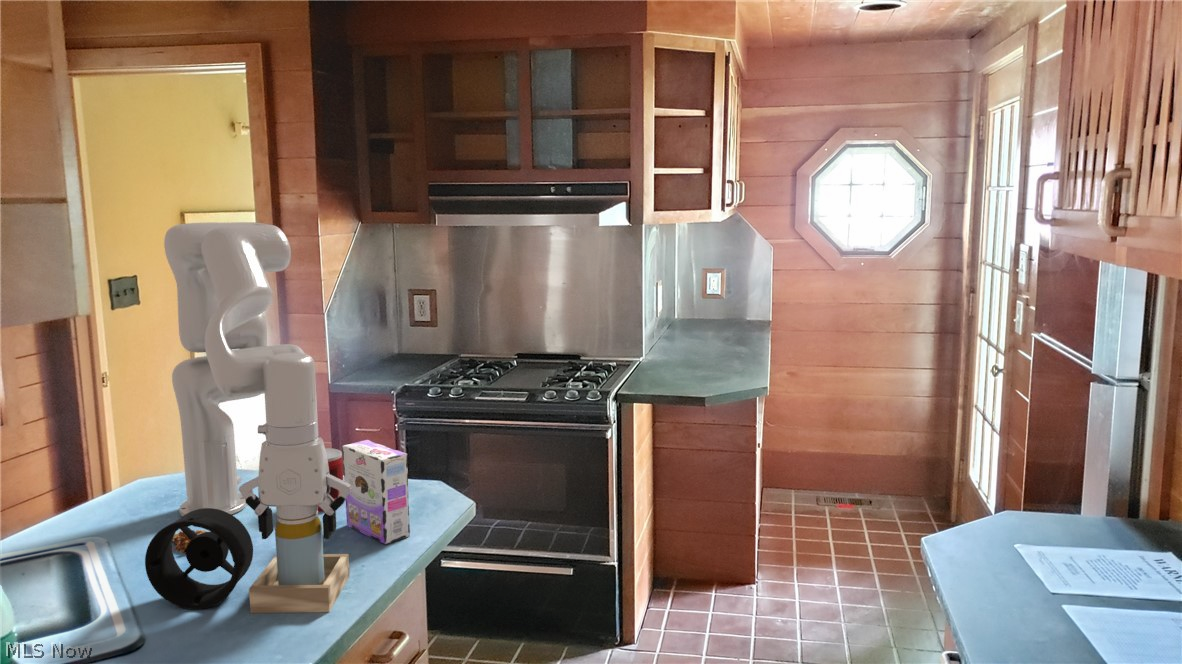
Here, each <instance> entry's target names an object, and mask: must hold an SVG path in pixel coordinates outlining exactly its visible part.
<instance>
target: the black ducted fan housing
mask: <svg viewBox="0 0 1182 664" xmlns="http://www.w3.org/2000/svg"><path fill="white" fill-rule="evenodd" d="M191 526H192V527H195V528H196V527H197V528H201V529H203V530H205V531H206V530H207V532H204V533H201V534H199V535H197V534H196V533H195V532H196V531H195V530H194V531H195V532H194V531H192V528H190V527H191ZM178 531H182V532H183V533H184V534H185V535H186V536H187V537H188V538H189V539H190V540H191V541H190V542H189V544H188V545H187V548H186V549H185V558H186V560H187V562H188V564H189V566H188V567H187V568H186V570H185V571H183V570H182V569H181V567H180V566H179V564H178V562H177V561H176V559H175V556H174V553H173V551H174V550H173V542H174V541H173V537H174V534H175V533H176V532H178ZM229 553H230V555H231V559H232V562H233V565H232V564H231V563H230V562H229V561H228V560H227V558H228V555H229ZM253 557H254V545H253V541H252V537H251V535H250V532H249V531H248V529H247V528H246V527H245V525H244V524H243V522H241V521H240V520H239V518H237V517H235V515H234V514H229V513H227V512H225V511H222V510H219V509H213V508H203V509H197V510H194V511H191V512H189V513H187V514H185V515H184V516H181V517H180V518H178V519H177V520H175V521H174V522H172V523H169V524H168V525H166V526H164V527H163V528H161V529H160V530H159V531H157V533H156V534H155V535H154V536H153V537H152V539H151V540H150V542H149V544H148V546H147V548H146V552H145V557H144V565H145V566H144V567H145V572H146V576H147V578H148V581H149V582H150V585H151V586H152V588H153V589H154V590H155V591H156V593H157V594H158V595H160V597H162V598H163V600H166V601H167V602H169V603H170V604H172V605H174V606H177V607H179V608H183V609H187V610H204V609H208V608H212V607H215V606H217V605H218V604H220V603H222V602H223V601H224V600H225V599H226V598H228V596H230V594H231V593H232V591H233V590H234V589H235V588H236V586H237V584H238V583H239V582H240V581H241V579H242V578H243V577H244V576H245V575H246V574H247V572H248V570H249V568H250V567H251V564H252V562H253ZM219 567H221V568H222V569H223V570H224V571H226V572H227V573H228V574H230V575H231V577H230V579H229V580H228V581H225V582H222V583H219V584H208V583H202V582H200V581H199V580H198V581H197V580H195V579H193V578H192V577H190V576H189V574H190V573H191V572H192V571H194V569H195V570H197V571H199V572H204V573H207V572H213V571H215V570H217V569H218V568H219Z"/></svg>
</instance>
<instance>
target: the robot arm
mask: <svg viewBox="0 0 1182 664" xmlns="http://www.w3.org/2000/svg"><path fill="white" fill-rule="evenodd" d="M163 243H164V244H163V247H164V252H165V253H164V254H165V256H166V260H167V263H168V265H169V268H170V270H171V271H172V274H173V276H174V280H175V283H176V290H177V293H176V294H177V295H176V296H177V317H178V318H177V319H178V335H179V340H180V343H181V345H182V348H183V349H185V350H186V351H188V352H191V353H196V354H197V353H205V354H206V355H205V356H198V357H192V358H189V359H185V360H183V361H180V362H179V363H178V364H177V365H176V366H174V369H173V370H172V373H171V383H172V387H173V391H174V395H175V399H176V403H177V407H178V411H179V420H180V429H181V441H182V453H183V465H184V477H185V491H186V501H184V502H183V503H182V504H181V505H179V508H178V509H179V515H180V516H181V517H182V516H184V515H185V514H187V513H189V512H191V511H194V510H197V509H203V508H213V509H219V510H222V511H225V512H227V513H229V514H231V515H234V514H237V513H238V512H240V511H242V510H244V509H245V508H246V506H248V507H250V509H252V510H253V512H254V515H256V516H257V522H258V523H257V524H258V532H259V533H261V540H266V539H268V538H269V537H270V536H271V535H272V533H273V532H274V521H273V518H274V517H273V510H272V508H271V507H275V508H276V507H280V506H292V505H298V506H303V507H307V506H317V505H319V506H320V507H321V508H322V509H323V512H324V514H323V515H322V536H323V539H325V540H329V539H330V538H331V536H332V535H333V534H334V533H335V532H336V530H337V513H336V512H337V510H338V509H339V508H341V506H343V505H344V503H345V502H346V498H347V496H348V494H349V492H350V490H351V488H352V485H351V484H349V483H347V482H345V481H344V479H343V480H341V479H339V478H336V477H334V476H332V475H330V473H329V466H328V460H327V454H326V450H325V448H326V446H325V443H324V440H323V438H322V437H319V423H318V422H319V419H318V403H317V398H318V397H317V380H316V376H317V375H316V363H315V360H314V358H313V357H312V356H311V355H310V354H308V353H305V351H304V350H303V349H302V348H301V347H300V346H298V345H296V344H291V343H284V344H275V345H268V327H267V319H266V316H265V313H264V312H265V311H266V310H267V309H268V308H269V307H270V306H271V304H272V302H273V300H274V299H273V298H274V294H273V290H272V288H271V286H270V283H269V280H268V278H267V276H266V273H276V272H283V271H285V270H286V269H287V268H288V266H289V265H290V264H291V258H292V251H291V245H290V242H289V239H288V238H287V235H286V234H285V232H283V230H282V229H281V228H280V227H278V226H276V225H273V224H266V223H263V222H257V221H256V222H248V221H247V222H243V221H241V222H236V221H235V222H190V223H182V224H181V223H180V224H177V225H174V226H171V227H170V228H168V229H167V231H166V233H165V236H164V242H163ZM263 394H264V404H265V405H264V407H265V423H264V424H263V425H261V424H259V425H258V426H257V433H258V435H259V434H260V435H261V434H262V435H265V440H264V441H263V442H262V443H261V446H260V452H259V453H260V454H259V462H258V475H257V476H256V477H254V478H253V479H251V480H249V481H246V482H245V483H243V484H241V482H242V478H241V477H242V476H240V475H238V471H237V458H236V457H237V456H236V455H237V454H236V443H235V441H236V440H235V429H234V422H233V421H232V418H231V417H230V416H229V415H228V413H226V412H225V411H224V410H222V408H220V406H219V404H221V403H226V402H231V401H238V400H245V399H250V398H255V397H258V396H260V395H263ZM240 484H241V486H239V485H240ZM238 486H239V487H238ZM330 486H331V487H333V488H335V489H337V490H339V491H340V494H339V496H338V497H337V498H336V499H335V500H334V499H333V498H332V497H331V496H330V495H329V493H330ZM255 488H257V489H258V492H257V493H258V496H257V495H256V494H255V493H254V490H253V489H255Z"/></svg>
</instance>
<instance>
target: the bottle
mask: <svg viewBox="0 0 1182 664" xmlns="http://www.w3.org/2000/svg"><path fill="white" fill-rule="evenodd" d="M275 508H276V520H277V522H276V526H275V529H274V530H275V531H274V536H275V537H274V538H275V551H276V552H275V553H276V554H275V555H277V570H278V584H279V585H323V584H324V581H325V580H324V558H323V554H324V542H323V524H322V522H321V519H320V518H319V511H318V505H317V506H307V507H303V506H298V505H292V506H280V507H275Z"/></svg>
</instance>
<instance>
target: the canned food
mask: <svg viewBox="0 0 1182 664" xmlns="http://www.w3.org/2000/svg"><path fill="white" fill-rule="evenodd" d="M325 450H326V454H327V460H328V466H329V473H330V475H332V476H334V477H336V478H339V479H341V480H343V481H344V465H343V451H341V450H340V449H336V448H334V447H333V448H330V447H329V448H328V447H325ZM339 494H340V491H339V490H337V489H335V488H333V487H331V486H330V493H329V495H330V496H331V497H332V498H333V499H334V500H335V499H336V498H337V497H338V496H339ZM322 511H323V509H322V508H321V507H320V506H319V505H318V512H322ZM323 512H324V511H323Z"/></svg>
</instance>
